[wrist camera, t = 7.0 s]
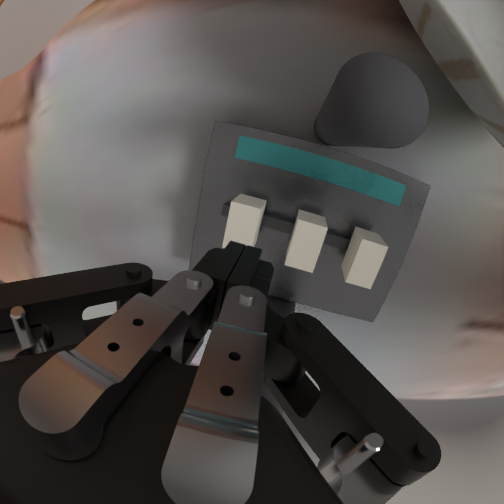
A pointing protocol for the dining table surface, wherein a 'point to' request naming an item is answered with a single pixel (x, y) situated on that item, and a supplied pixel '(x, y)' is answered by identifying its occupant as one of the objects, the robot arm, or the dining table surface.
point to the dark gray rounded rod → (373, 104)
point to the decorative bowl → (467, 51)
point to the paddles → (308, 241)
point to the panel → (310, 200)
